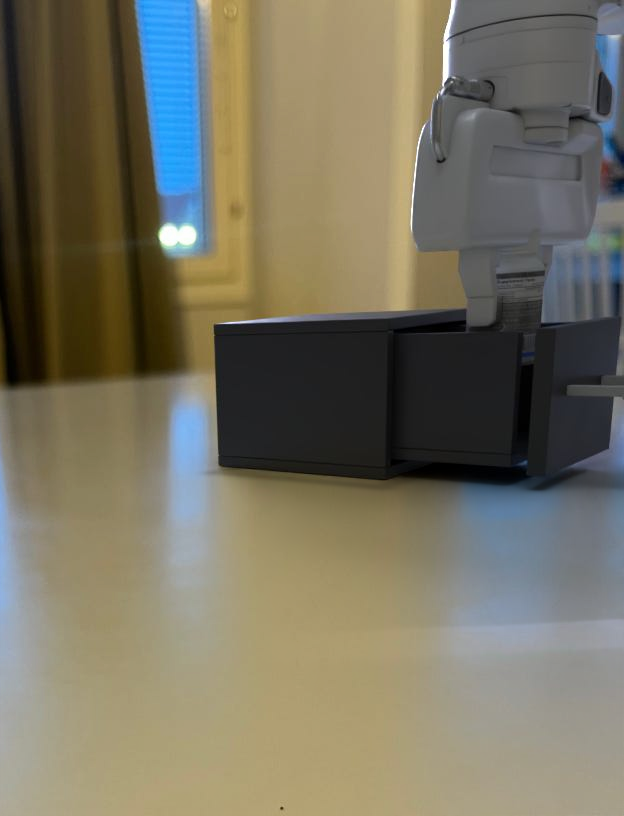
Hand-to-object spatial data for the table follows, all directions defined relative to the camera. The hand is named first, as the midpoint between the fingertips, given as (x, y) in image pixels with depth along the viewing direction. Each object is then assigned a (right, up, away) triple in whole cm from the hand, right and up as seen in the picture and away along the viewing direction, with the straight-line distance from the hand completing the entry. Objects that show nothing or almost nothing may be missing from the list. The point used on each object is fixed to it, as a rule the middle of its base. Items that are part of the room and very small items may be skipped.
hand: (504, 322), depth 66 cm
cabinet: (-9, -7, +11) cm, 16 cm away
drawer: (+1, -9, +2) cm, 9 cm away
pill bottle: (0, -3, +1) cm, 3 cm away
